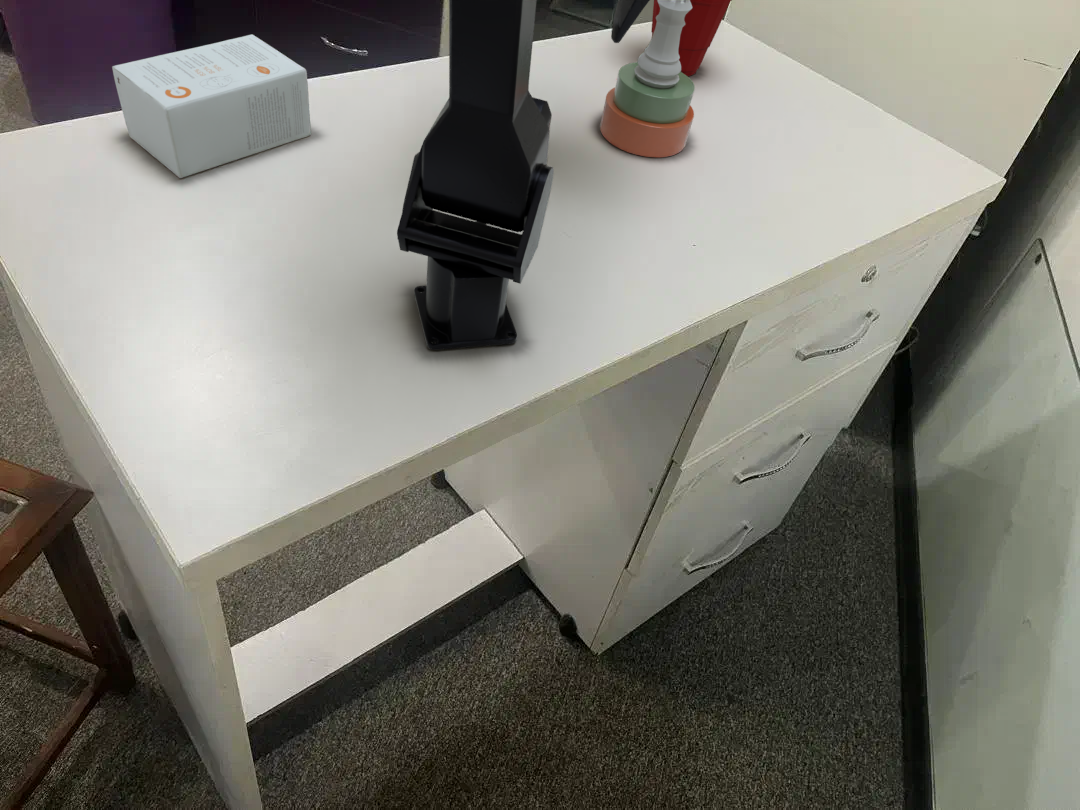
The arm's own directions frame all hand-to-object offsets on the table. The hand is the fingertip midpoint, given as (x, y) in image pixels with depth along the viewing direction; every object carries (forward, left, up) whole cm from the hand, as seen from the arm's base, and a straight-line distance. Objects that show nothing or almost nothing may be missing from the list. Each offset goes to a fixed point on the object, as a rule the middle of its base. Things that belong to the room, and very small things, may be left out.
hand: (562, 38), depth 64 cm
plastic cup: (+23, -23, -12) cm, 34 cm away
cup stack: (+7, -13, -12) cm, 19 cm away
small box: (+10, +22, -9) cm, 26 cm away
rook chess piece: (+7, -13, -7) cm, 16 cm away
